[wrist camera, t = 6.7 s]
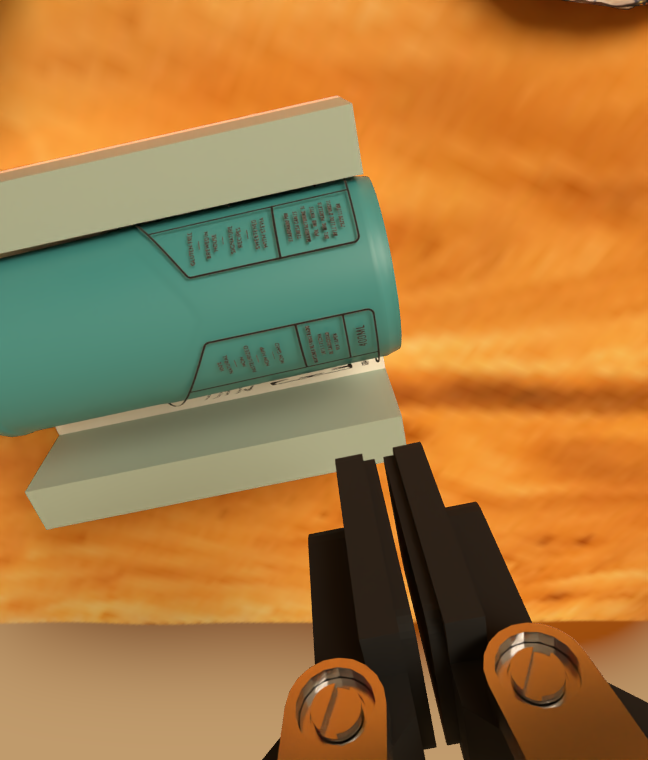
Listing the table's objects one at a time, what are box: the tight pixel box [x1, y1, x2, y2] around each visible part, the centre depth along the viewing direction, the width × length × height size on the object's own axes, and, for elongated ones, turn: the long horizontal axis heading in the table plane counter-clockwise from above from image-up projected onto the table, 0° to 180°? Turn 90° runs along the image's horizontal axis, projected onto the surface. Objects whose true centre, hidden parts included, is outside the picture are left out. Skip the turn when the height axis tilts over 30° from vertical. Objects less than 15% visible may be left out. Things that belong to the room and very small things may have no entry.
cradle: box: [0, 96, 406, 530], centre depth 23 cm, size 15×13×5 cm
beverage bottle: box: [0, 176, 401, 437], centre depth 20 cm, size 6×7×20 cm
